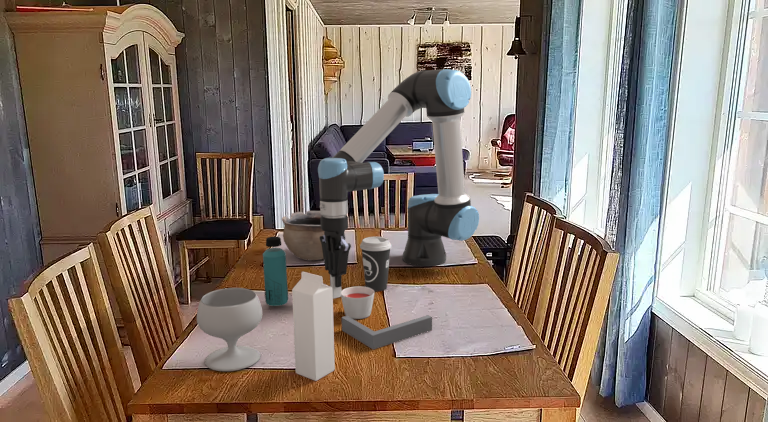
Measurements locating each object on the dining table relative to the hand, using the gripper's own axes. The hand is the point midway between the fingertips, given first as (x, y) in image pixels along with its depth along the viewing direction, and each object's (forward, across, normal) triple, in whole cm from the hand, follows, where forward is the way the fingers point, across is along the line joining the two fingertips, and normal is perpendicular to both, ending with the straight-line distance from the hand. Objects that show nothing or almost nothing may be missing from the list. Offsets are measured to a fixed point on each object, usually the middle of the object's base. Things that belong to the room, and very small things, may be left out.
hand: (336, 296), depth 163 cm
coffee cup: (+2, -3, +16) cm, 16 cm away
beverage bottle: (+2, -7, -15) cm, 17 cm away
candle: (+2, +11, 0) cm, 11 cm away
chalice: (+2, +16, -37) cm, 40 cm away
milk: (+2, +32, -25) cm, 41 cm away
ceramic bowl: (+2, -42, +17) cm, 45 cm away
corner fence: (+2, +24, 0) cm, 24 cm away
